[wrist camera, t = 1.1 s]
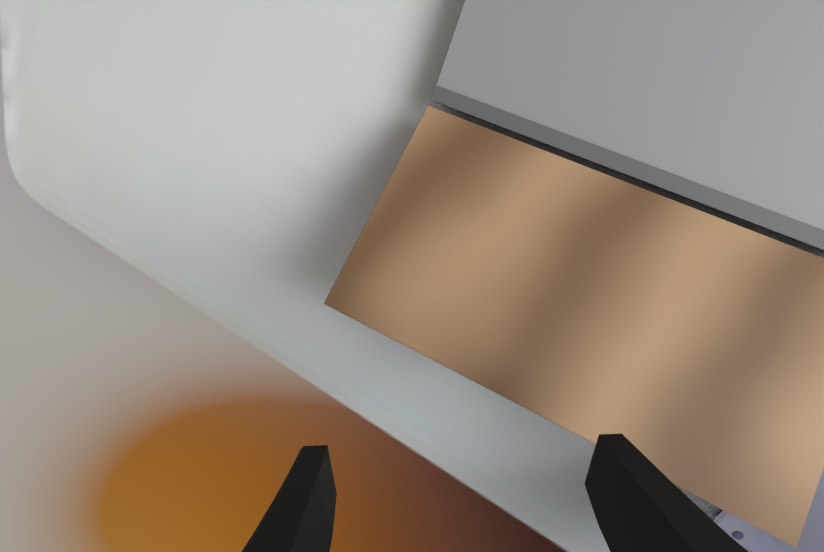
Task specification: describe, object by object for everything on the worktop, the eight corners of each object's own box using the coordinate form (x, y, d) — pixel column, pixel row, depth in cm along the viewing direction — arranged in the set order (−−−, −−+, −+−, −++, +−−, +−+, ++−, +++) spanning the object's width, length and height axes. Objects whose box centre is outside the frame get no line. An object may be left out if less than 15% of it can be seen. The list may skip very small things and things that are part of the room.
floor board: (1036, 70, 12) (1103, 59, 11) (859, 264, 15) (893, 276, 13) (503, -79, 15) (498, -103, 14) (440, 103, 18) (430, 99, 16)
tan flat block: (845, 289, 15) (888, 283, 13) (759, 526, 14) (795, 547, 12) (430, 124, 18) (428, 105, 17) (335, 307, 17) (323, 303, 15)
